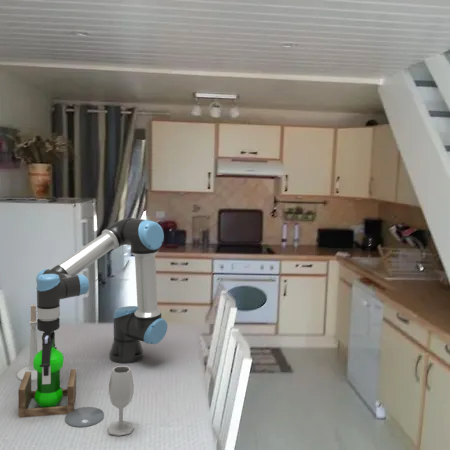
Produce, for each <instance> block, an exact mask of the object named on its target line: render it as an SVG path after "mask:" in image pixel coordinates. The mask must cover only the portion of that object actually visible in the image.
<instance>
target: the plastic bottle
mask: <svg viewBox="0 0 450 450" xmlns="http://www.w3.org/2000/svg"><path fill="white" fill-rule="evenodd" d="M55 339H56V338H54V340H53V344H55V345H56V342H55V341H56V340H55ZM37 352H38V353H37V354H36V355H35V357H34V361H33V366H34V369H35V370H36V371H37V383H36V384H37V389H36V390H35V391H36V393H35V398H34V401H35V404H37V405H38V406H40V408H44V407H57V405H59V403H61V401H62V399H63V397H64V396H63V390H62V389H63V388H62V387H61V369H62V368H63V367H64V355H63V353H62V352H61V351H60V350H58V348H57V349H55V348H54V347H52V348H51V356H50V365H51V384H42V367H40V365H41V364H42V349H41V350H39V351H37Z"/></svg>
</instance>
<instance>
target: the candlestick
mask: <svg viewBox="0 0 450 450" xmlns="http://www.w3.org/2000/svg"><path fill="white" fill-rule="evenodd" d="M36 309H37V304H35V303H34V304H31V305H30V320H29V321H28V323H29V325H30V326H29V327H31V329H30V343H29V344H30V345H29V363H28V364H29V365H28V366H26V367H23V368H21V369H20V370H19V371H18V372H17V373H16V378H17V379H18V380H20V381H22V379H23V377H24V374H25V372H31V382H36V381H37V371H36V370H35V369H34V366H33V361H34V357H35V355H36V354H37V353H38V352H39V351H38V340H37V329H36V328H37V320H38V319H37V312H36V311H35V310H36Z"/></svg>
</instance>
